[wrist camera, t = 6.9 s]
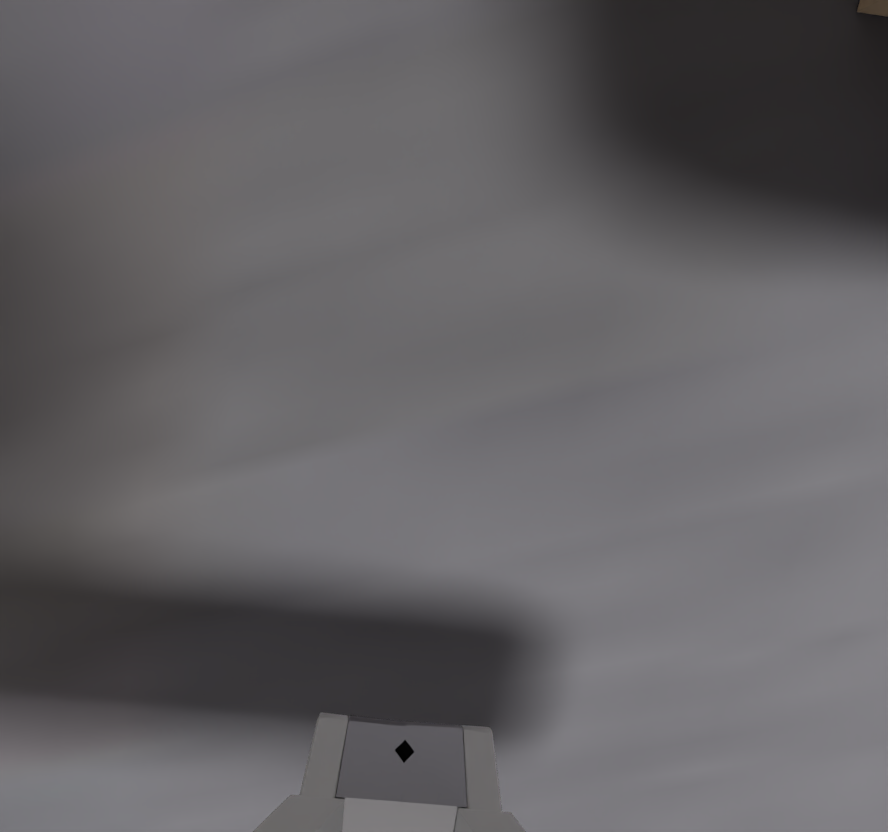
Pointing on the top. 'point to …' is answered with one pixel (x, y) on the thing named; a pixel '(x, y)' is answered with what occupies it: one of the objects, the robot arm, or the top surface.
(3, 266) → the top surface
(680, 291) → the top surface
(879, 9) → the bridge
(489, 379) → the top surface
